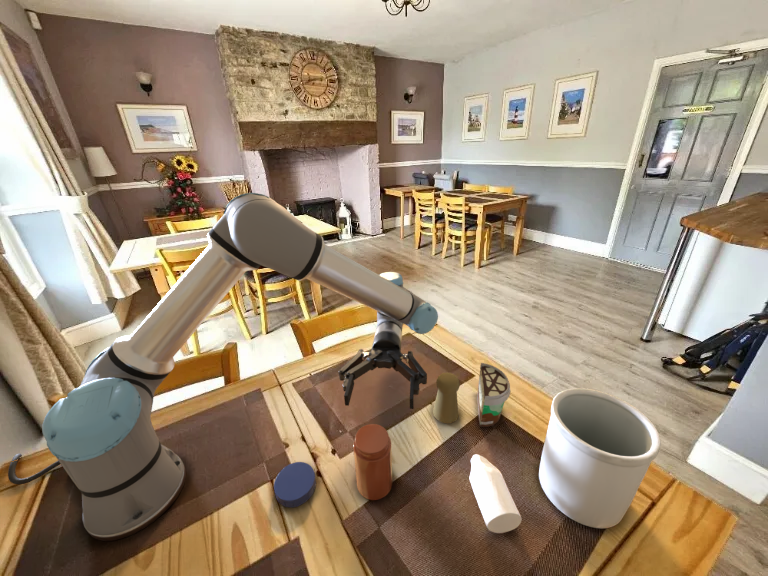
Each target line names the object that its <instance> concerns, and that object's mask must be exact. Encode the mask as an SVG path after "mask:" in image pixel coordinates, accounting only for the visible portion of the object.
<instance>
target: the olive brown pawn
mask: <svg viewBox="0 0 768 576" xmlns="http://www.w3.org/2000/svg"><path fill="white" fill-rule="evenodd" d="M435 383H436V388H437V391H436V392H437V393H436V396H435V401H434V405H433V408H432V414H433V417H434V418H435V419H436V420H437V421H438V422H440V423H443V424H451V423H455V422H456V421H457V420H458V418H459V403H458V402H459V401H458V391H459V389H460V385H461V384H460V379H459V377H458V376H457V375H456V374H455V373H452V372H447V371H446V372H442V373H441V374H439V375H438V376H437V378H436V382H435Z"/></svg>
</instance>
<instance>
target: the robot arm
mask: <svg viewBox="0 0 768 576" xmlns="http://www.w3.org/2000/svg"><path fill="white" fill-rule="evenodd" d="M206 236H207V240H208V245H207V246H206V248H204V250H203V251H202V253H200V255H199V256H198V257H197V258H196V259H195V261H193V263H192V264H191V265H189V267H188V269H187V270H186V271H185V272H184V273H183V274H182V276H181V277H180V278H179V279H178V280H177V281H176V283H174V285H173V286H172V287H171V289H169V291H168V292H167V293H166V294H165V295H164V296H163V297H162V299H161V300H160V301H159V302H158V303H157V305H156V306H155V307H154V308H153V309H152V311H151V312H150V313H149V314H148V315H147V316H146V317H145V318H144V320H143V321H142V322H141V323H140V325H138V326H137V328H136V329H135V330H134V331H133V333H131V334H130V335H123V336H120V337H118V338H116V339H115V340H114V341H113V342H112V344H111V345H110V346H109V347H107V348H105V349H104V350H102V351H101V352H99V354H97V355H96V356H95V357H94V358H93V359H92V361H90V363H89V364H88V366H87V368H86V370H85V372H84V376H83V379H82V380H81V383H80V385H79V386H78V387H76V388H74V389H73V390H71V391H70V392H68V393H67V394H66V395H67V396H66V397H63V398H60V399H59V400H57V401H56V402H55V403H54V404H53V406H52V407H51V408H50V409H49V410H48V412H47V413H46V415H45V416H44V418H43V422H42V425H41V429H42V430H41V431H42V436H43V438H44V440H45V442H46V447H47V448H48V450H49V452H50V453H51V454H52V456H54V457H55V458H56V459H57V460H56V461H54V462H53V463H51V464H50V465H48V466H46V467H45V468H44V469H42V470H40V471H38V472H36V473H35V474H32V475H30V476H27V477H24V478H19V477H18V476H17V474H16V468H17V465H18V462H19V460H20V459H21V457H22V456H23V455H22V453H16V454H15V455H14V456H13V457H12V459H11V461H14V460H17V459H19V460H18V461H14V462H11V461H10V464H9V466H8V471H7V478H8V480H9V482H10V483H12V484H14V485H19V486H20V485H25V484H28V483H31V482H33V481H35V480H37V479H39V478H41V477H43V476H44V475H46V474H47V473H48V472H50V471H52V470H54V469H55V468H57V467H58V466H60V465H61V467H62V468H63V470H65V472H66V474H67V475H68V476H69V478H70V479H71V481H72V482H73V483H74V485H75V486H76V487H77V489H78V490H79V492H80V493H81V500H82V501H81V505H82V514H81V515H82V516H81V519H82V524H83V527H84V528H85V530H86V531H87V533H88V534H89V535H90V537H92V538H93V539H95V540H97V541H104V542H112V541H117V540H121V539H124V538H127V537H129V536H131V535H134V534H136V533H138V532H140V531H141V530H144V529H145V528H147V527H148V526H150V525H151V524H152V523H154V522H155V521H157V520H158V519H159V518H160V517H161V516H162V515H164V514H165V513H166V512H167V511H168V509H169V508H170V507H171V506H172V505H173V504H174V502H175V501H176V500H177V499H178V497H179V495H180V494H181V492H182V490H183V488H184V485H185V483H186V479H187V469H186V467H185V464H184V462H183V460H182V459H181V457H180V456H179V455H178V454H176V453H175V452H174V451H173V450H171V449H170V448H168V447H166V446H165V445H163V444H162V443H161V441H160V438H159V437H158V434H157V432H156V430H155V428H154V425H153V423H152V418H151V417H152V411H153V404H154V396H155V392H156V391H157V389H158V388H159V386H160V385H161V384H162V383H163V382H164V381H165V379H166V378H167V377H168V376H169V374H170V373H171V372H172V371H173V369H174V368H175V366H176V364H175V359H174V358H175V355H177V353H178V352H179V351H180V349H181V348H182V347H183V346H184V345H185V344H186V343H187V342H188V340H189V339H190V338H191V337H192V336H193V335H194V334H195V333H196V331H197V330H198V329H199V327H200V326H201V325H202V324H203V323H204V322H205V320H206V319H207V318H208V317H209V315H210V314H211V313H213V311H214V309H216V307H218V304H220V303H221V301H223V299H224V298H225V297H226V296H227V294H229V292H230V291H231V290H232V289H233V288H234V286H235V285H236V284H237V283H238V282H239V280H240V279H241V278H242V277H243V275H244V274H245V273H246V272H248V271H257V270H259V269H260V267H261V266H262V267H264V268H267V269H270V270H272V271H274V272H277V273H280V274H282V275H285V276H287V277H289V278H291V279H294V280H295V281H297V282H298V281H299V282H300V281H304V280H309V281H310V282H313V283H315V284H318V285H320V286H322V287H324V288H326V289H328V290H330V291H332V292H335V293H337V294H339V295H341V296H343V297H345V298H347V299H348V298H349V299H350V300H352V301H354V302H357V303H358V304H361V305H363V306H365V307H366V308H367V307H368V308H370V309H372V310H374V311H376V321H377V322H376V329H375V333H374V337H373V341H372V346H371V350H370V351H369V352H367V351H364V349H363V348H360V349H358V351H357V353H356V354H355V355H353V357H352V358H350V359H349V361H347V362H346V363H345V364H344V365H343V366H342V367H341V368H340V369H338V376H339V377H338V379H339V381H343V383H342V390H343V392H344V394H343V399H344V406H347V407H348V406H349V405H350V402H351V398H352V394H353V390H354V386H355V380H357V379H359V378H360V377H362V376H363V375H365V374H366V373H368V372H370V371H374V370H375V369H393V370H394V371H395V372H398V373H399V374H401V375H402V376H403V377H404V378H405V379H406V380H407V381H408V382H409V410H414V401H415V399H414V396H419V394H420V385H427V383H428V373H427V372H426V371H425V369H424V368H423V367H422V365H421V364H420V363H419V361H418V360H417V359H416V357H414V352H413V350H408V351H407V353H402V341H403V328H404V327H403V326H404V325H405V326H407V327H408V328H409V330H411V331H414V332H415V333H416V334H418V335H425V334H428V333H430V332H431V331H432V330H433V329H434V328H435V326H436V324H437V323H438V319H439V312H438V311H437V309H436V308H435V306H433V305H431V303H430V302H427V301H426V300H424V299H423V298H421V297H420V296H418V295H416V294H414V293H413V292H412V291H410V290H409V289H408V288H406V287H404V280H403V279H404V278H403V276H402V274H400V273H399V272H395V271H385V272H382V273H380V274H378V273H377V272H375V271H373V270H371V269H370V268H367V266H364V265H363V264H361V263H359V262H358V261H356V260H354V259H352V258H351V257H348V256H347V255H345V254H343V253H342V252H340V251H337V250H336V249H334V247H331V246H329V245H328V244H326V243H325V241H324V240H325V239H324V237H323V236H322V235H321V234H319V233H317V232H315V231H314V230H312V229H311V228H309V227H308V226H306V225H305V224H304V223H302V221H300V220H299V219H298V218H297V217H295V216H294V215H293V214H292V213H291V212H290V211H289V210H288V209H286V208H285V207H284V206H283V205H282V204H280V203H277V202H276V200H274V199H273V198H271V197H270V196H268V195H265V194H262V193H258V192H246V193H241V194H240V195H237V196H235V197H234V198H232V199H231V200H230V201H229V202H228V203H227V205H226V206H225V208H224V212H223V214H222V216H221V217H220V218H219V219H218V221H217V222H215V224H214V225H213V227H212V228H211V229H210V230H209V231H208V233H207V235H206ZM403 360H404V361H403ZM407 364H408V365H407Z"/></svg>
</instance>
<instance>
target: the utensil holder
mask: <svg viewBox="0 0 768 576" xmlns="http://www.w3.org/2000/svg"><path fill="white" fill-rule="evenodd" d="M661 446H662V440H661V436H660V433H659V431H658V429H657V427H656V426H655V424H654V423H653V422H652V421H651V419H649V417H648V416H647V415H646V414H644V413H643V411H641V410H640V409H638V408H637V407H635V406H634V405H632V404H631V403H629V402H628V401H626V400H624V399H622V398H620V397H618V396H616V395H613V394H610V393H609V392H608V393H607V392H605V391H601V390H597V389H591V388H582V387H581V388H578V387H577V388H569V389H565V390H562V391H560V392H558V393H557V394H556V395H555V396H554V397H553V399H552V402H551V406H550V417H549V421H548V426H547V431H546V435H545V439H544V444H543V447H542V451H541V457H540V463H539V468H538V469H539V470H538V479H539V483H540V486H541V488H542V490H543V492H544V494H545V495H546V497H547V498H548V500H549V501H550V502H551V503H552V504H553V505H554V506H555V508H556V509H557V510H559V511H560V512H561V513H562V514H563V515H565V516H566V517H568V518H569V519H570V520H573V522H574V521H575V522H576V523H578V524H580V525H583V526H587V527H589V528H594V529H609V528H612V527H614V526H615V527H616V525H618V524H619V523H620V522H621V521H622V519H623V518H624V517H625V515H626V513H627V511H628V510H629V508H630V507H631V505H632V503H633V500H634V498H635V496H636V495H637V492H638V490H639V488H640V486H641V484H642V482H643V480H644V478H645V476H646V474H647V473H648V470H649V468H650V465H651V463H652V462H653V461H654V460H655V459H657V456H658V455H659V453H660V451H661Z"/></svg>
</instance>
